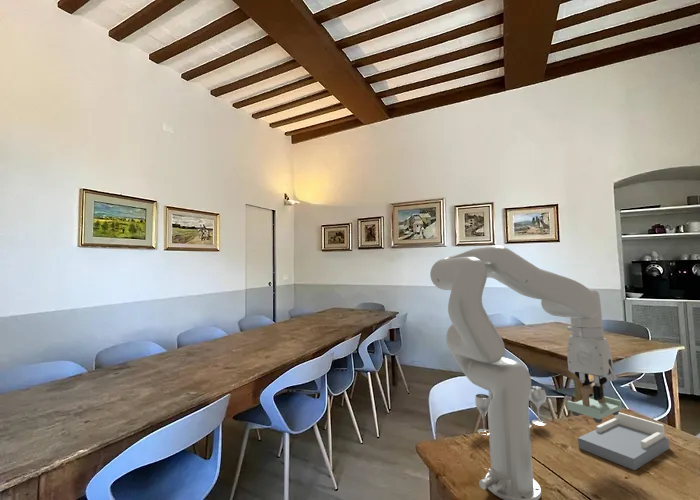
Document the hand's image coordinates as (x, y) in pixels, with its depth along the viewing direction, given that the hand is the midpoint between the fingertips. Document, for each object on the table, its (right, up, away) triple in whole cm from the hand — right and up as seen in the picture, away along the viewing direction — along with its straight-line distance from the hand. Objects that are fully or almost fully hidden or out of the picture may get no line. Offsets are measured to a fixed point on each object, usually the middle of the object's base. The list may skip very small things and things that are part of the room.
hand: (593, 397), depth 96 cm
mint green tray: (0, -5, 0) cm, 5 cm away
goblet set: (-12, -20, +22) cm, 32 cm away
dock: (+13, -18, +6) cm, 23 cm away
